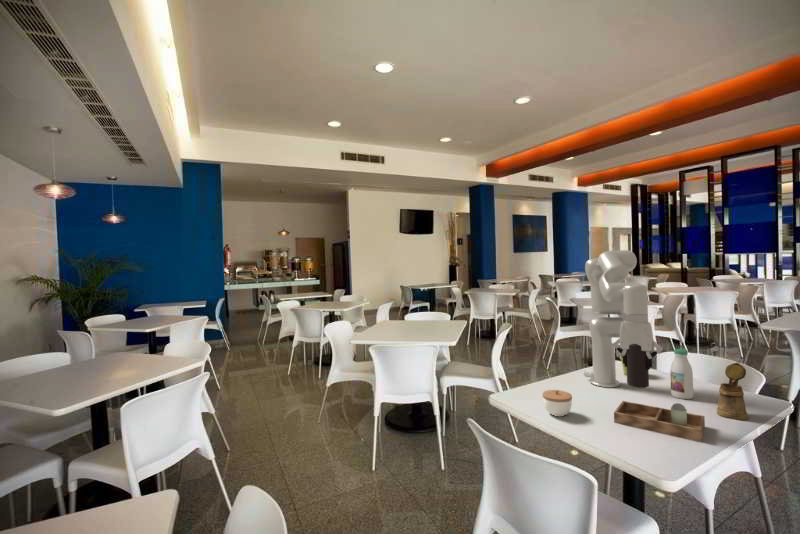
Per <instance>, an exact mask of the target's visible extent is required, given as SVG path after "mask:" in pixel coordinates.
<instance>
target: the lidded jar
mask: <svg viewBox="0 0 800 534" xmlns="http://www.w3.org/2000/svg"><path fill="white" fill-rule="evenodd" d="M542 401H543V406H544V409H545V410H546V411H547V412H548V414H549V413H550V414H552V415H556V416H564V415H566V416H567V414H569V412H570V411H571V409H572V405H573V396H572V394H571V393H570V392H568V391H565V390H559V389H548V390H544V391H543V392H542ZM550 414H549V415H550ZM552 415H551V416H552ZM564 417H565V416H564Z"/></svg>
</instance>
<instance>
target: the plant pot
mask: <svg viewBox="0 0 800 534" xmlns="http://www.w3.org/2000/svg"><path fill="white" fill-rule="evenodd" d="M619 359H620V361H621V365H622V370H623V375H624V376H625V375H626V377H627V367H625V365H624V364H623V356H622V355H621V356H619Z"/></svg>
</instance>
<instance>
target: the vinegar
mask: <svg viewBox="0 0 800 534" xmlns="http://www.w3.org/2000/svg"><path fill="white" fill-rule="evenodd" d="M626 356H627V376H626V383H627V385H628V386H630V387H634V388H638V389H646V388H648V387H649V386H650V384H649V383H650V381H649V380H650V379H649V378H650V377H649V370H647V365H646V359H647V355H646V351H642V350H641V346H640V345H638V344H631V345H629V349H628V350H627V349H626Z"/></svg>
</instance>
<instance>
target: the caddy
mask: <svg viewBox="0 0 800 534" xmlns="http://www.w3.org/2000/svg"><path fill="white" fill-rule="evenodd" d="M705 418H706V417H705V416H704V415H699V414H694V413H690V412H687V427H686V426H681V425H676V424H672V423H671V409H669V408H664V407H659V406H653V405H649V404H641V403H636V402H631V401H625V400H623V401H622V402H620V404H619V405H618V407H617V408H616V409H615V410H614V411H613V422H614V423H615V424H618V425H619V424H620V425H623V426H628V427H633V428H636V429H641V430H645V431H650V432H655V433H659V434H662V435H663V434H664V435H666V436H667V435H668V436H671V437H677V438H682V439H685V440H689V441H690V440H691V441H695V442H700V443H702V442H703V437H704V431H705V428H706V427H705V426H706V425H705V424H706V422H705V421H706V420H705Z"/></svg>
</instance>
